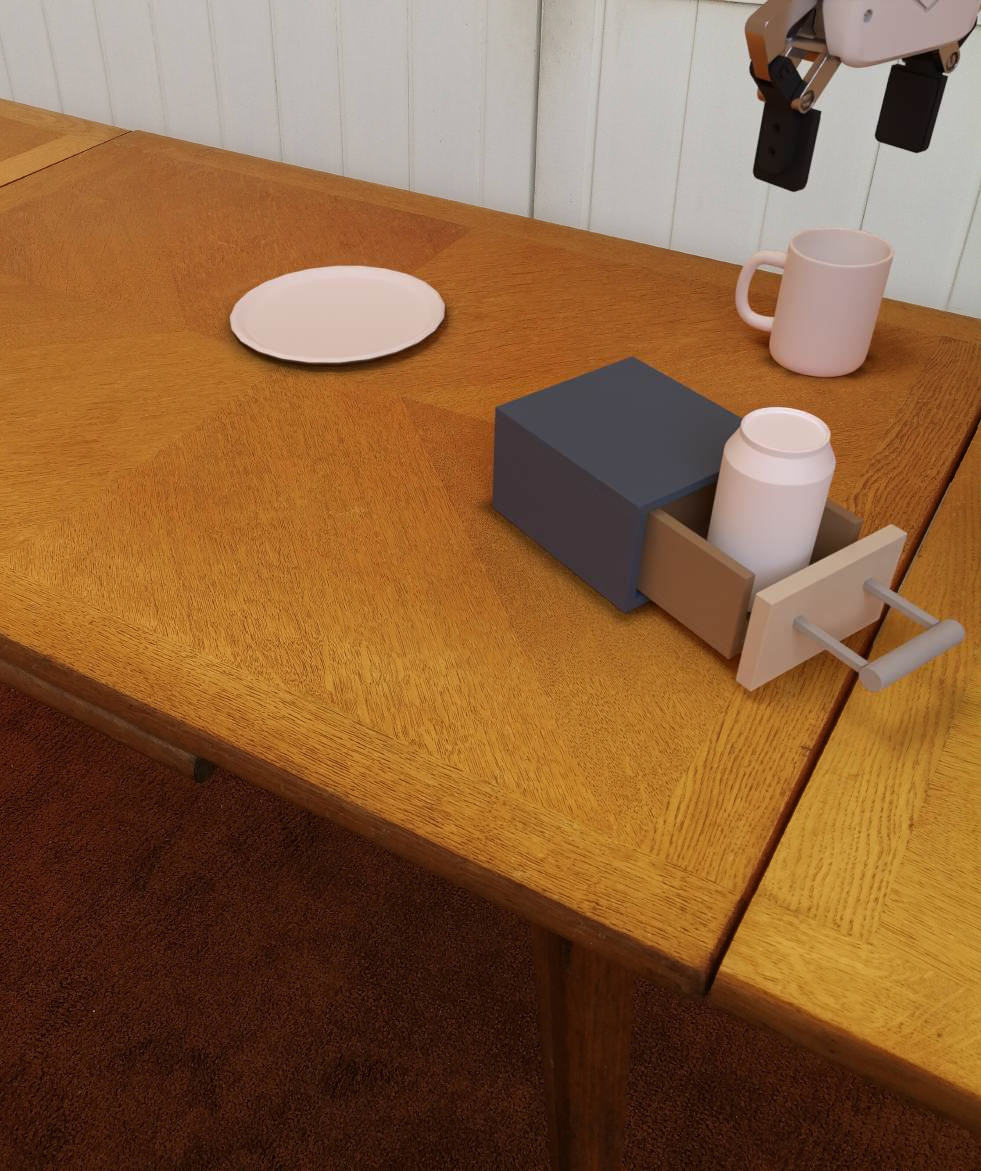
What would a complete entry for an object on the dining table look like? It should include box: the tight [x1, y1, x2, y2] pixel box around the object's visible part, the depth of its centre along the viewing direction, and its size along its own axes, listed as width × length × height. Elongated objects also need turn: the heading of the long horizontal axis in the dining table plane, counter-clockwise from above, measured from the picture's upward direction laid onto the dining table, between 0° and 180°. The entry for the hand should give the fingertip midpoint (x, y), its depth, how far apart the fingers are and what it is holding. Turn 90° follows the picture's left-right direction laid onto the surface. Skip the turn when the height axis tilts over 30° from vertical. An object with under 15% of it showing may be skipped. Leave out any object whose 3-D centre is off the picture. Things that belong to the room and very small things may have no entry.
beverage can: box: [707, 406, 837, 612], centre depth 65 cm, size 6×6×12 cm
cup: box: [734, 226, 895, 378], centre depth 94 cm, size 8×12×10 cm
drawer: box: [637, 481, 966, 693], centre depth 66 cm, size 20×11×7 cm, turn 32°
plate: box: [229, 265, 446, 366], centre depth 105 cm, size 21×21×1 cm
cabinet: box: [492, 356, 744, 614], centre depth 75 cm, size 15×13×9 cm
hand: (840, 164), depth 59 cm, fingers open, 9 cm apart
